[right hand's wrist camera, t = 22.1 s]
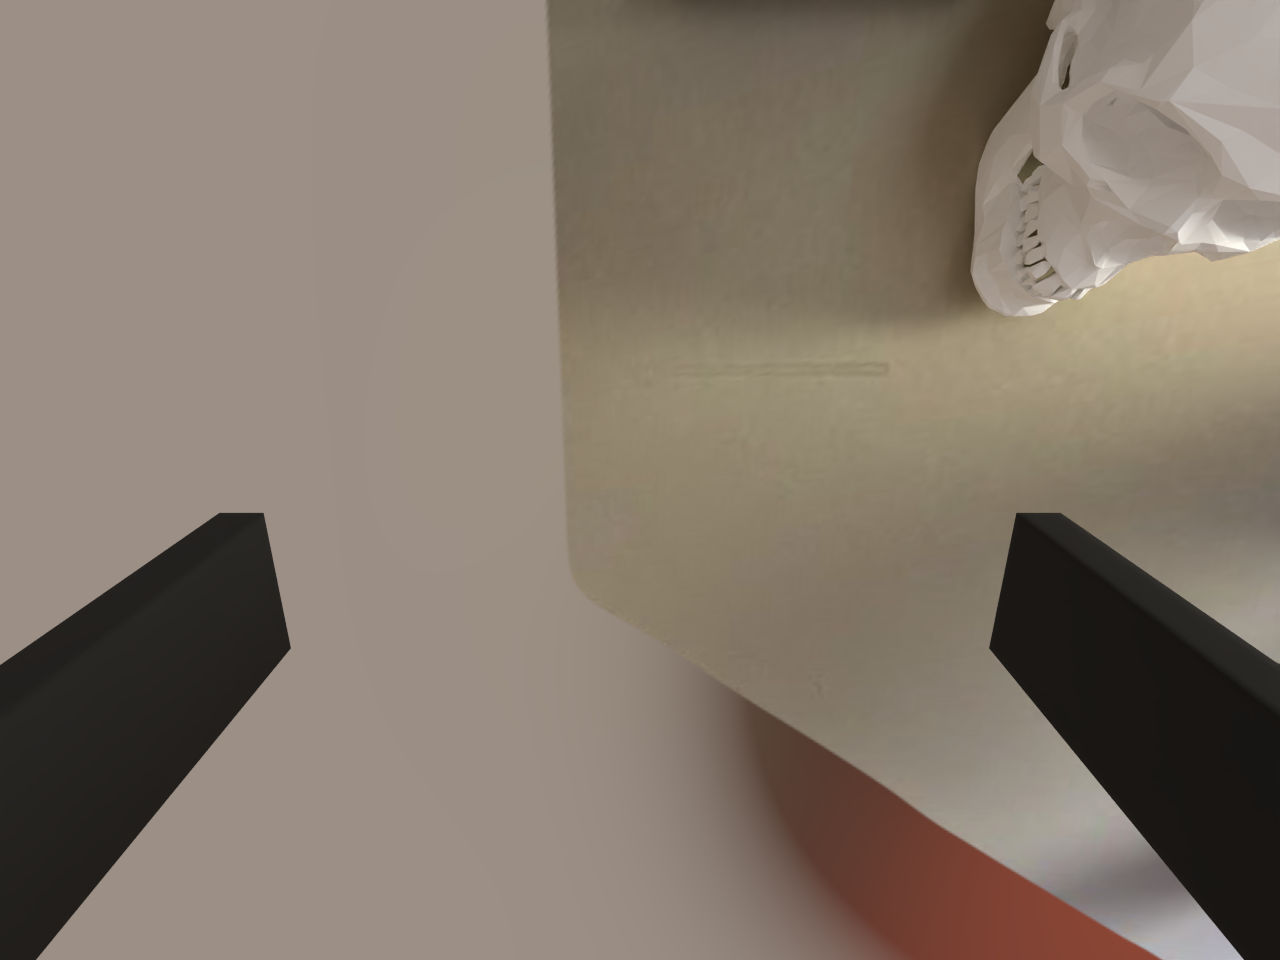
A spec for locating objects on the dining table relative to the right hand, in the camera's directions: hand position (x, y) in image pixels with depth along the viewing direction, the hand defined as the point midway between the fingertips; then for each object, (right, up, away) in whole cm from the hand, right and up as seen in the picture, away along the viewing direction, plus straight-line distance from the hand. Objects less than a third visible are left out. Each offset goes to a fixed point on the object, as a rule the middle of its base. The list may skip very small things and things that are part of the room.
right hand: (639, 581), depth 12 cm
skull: (+24, +21, +23) cm, 39 cm away
